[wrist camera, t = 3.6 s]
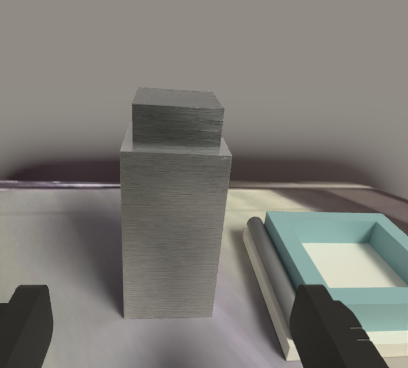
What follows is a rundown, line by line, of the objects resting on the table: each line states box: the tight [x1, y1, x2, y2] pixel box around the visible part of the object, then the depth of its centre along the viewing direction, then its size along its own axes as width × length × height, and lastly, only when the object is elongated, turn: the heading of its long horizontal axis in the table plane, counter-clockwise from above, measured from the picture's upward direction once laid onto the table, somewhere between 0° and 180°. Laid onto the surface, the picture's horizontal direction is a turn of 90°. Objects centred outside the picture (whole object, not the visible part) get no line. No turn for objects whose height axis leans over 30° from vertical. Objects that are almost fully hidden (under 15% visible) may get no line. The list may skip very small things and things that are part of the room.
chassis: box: [243, 211, 408, 361], centre depth 22 cm, size 12×11×3 cm
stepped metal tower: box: [120, 87, 232, 319], centre depth 19 cm, size 5×5×12 cm
